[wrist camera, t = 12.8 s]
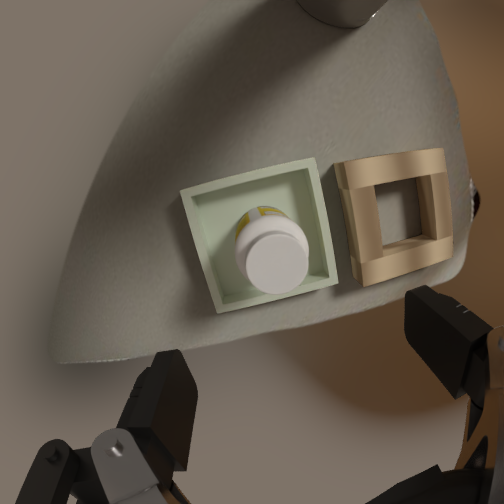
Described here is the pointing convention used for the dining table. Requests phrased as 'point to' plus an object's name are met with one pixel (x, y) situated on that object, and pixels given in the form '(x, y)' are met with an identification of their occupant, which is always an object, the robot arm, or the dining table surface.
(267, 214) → the supplement bottle
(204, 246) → the tray
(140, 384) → the robot arm
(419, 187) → the holder block
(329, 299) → the dining table surface
